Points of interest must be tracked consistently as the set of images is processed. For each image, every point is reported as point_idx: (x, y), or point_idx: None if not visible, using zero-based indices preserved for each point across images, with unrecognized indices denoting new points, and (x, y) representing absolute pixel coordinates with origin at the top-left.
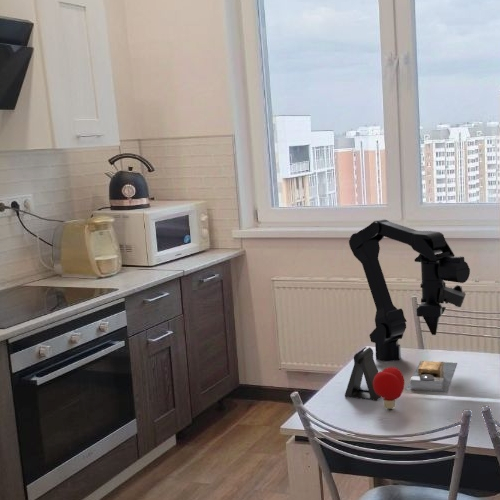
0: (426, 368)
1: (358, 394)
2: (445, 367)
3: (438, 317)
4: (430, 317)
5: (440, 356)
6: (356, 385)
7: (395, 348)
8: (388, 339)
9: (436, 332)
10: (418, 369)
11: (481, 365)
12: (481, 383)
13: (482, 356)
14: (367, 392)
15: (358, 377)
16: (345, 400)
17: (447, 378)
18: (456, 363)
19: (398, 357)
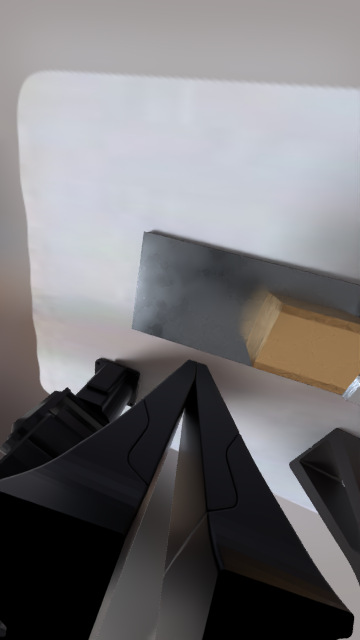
0: (349, 372)
1: (334, 470)
2: (186, 274)
3: (342, 602)
4: (219, 583)
5: (74, 270)
6: (334, 490)
7: (112, 394)
8: (96, 425)
9: (190, 364)
10: (341, 392)
11: (144, 143)
12: (351, 162)
13: (52, 131)
14: (327, 456)
15: (348, 512)
16: None
17: (293, 283)
18: (149, 235)
19: (122, 373)
